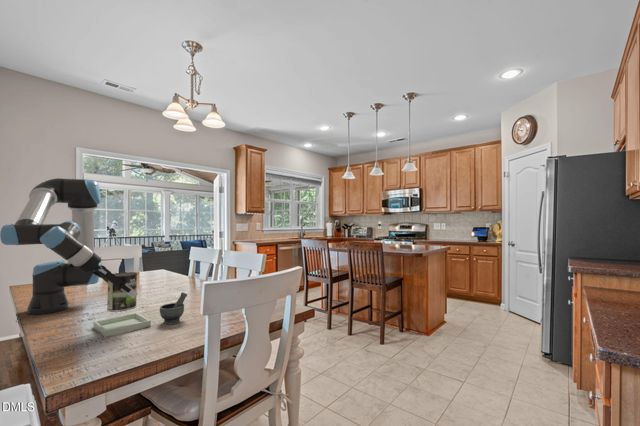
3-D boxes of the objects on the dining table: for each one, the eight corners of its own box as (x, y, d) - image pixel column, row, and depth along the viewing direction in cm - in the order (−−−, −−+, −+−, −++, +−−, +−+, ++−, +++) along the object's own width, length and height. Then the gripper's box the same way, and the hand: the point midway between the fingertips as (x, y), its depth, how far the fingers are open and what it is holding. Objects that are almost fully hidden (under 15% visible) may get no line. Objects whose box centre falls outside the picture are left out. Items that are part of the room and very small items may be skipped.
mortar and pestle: (163, 327, 126) (163, 298, 126) (156, 321, 133) (156, 294, 133) (190, 321, 134) (191, 293, 134) (183, 316, 141) (183, 290, 141)
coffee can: (142, 305, 130) (142, 272, 131) (122, 312, 120) (122, 276, 121) (121, 304, 132) (122, 271, 133) (100, 311, 122) (100, 275, 123)
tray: (93, 327, 126) (93, 321, 126) (136, 318, 138) (136, 312, 138) (104, 337, 115) (105, 331, 115) (150, 326, 127) (150, 320, 127)
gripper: (69, 264, 123) (114, 296, 134) (83, 270, 108) (133, 306, 119) (86, 250, 127) (128, 282, 138) (101, 254, 112) (147, 290, 123)
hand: (130, 293), depth 129 cm, fingers closed on coffee can, 10 cm apart
